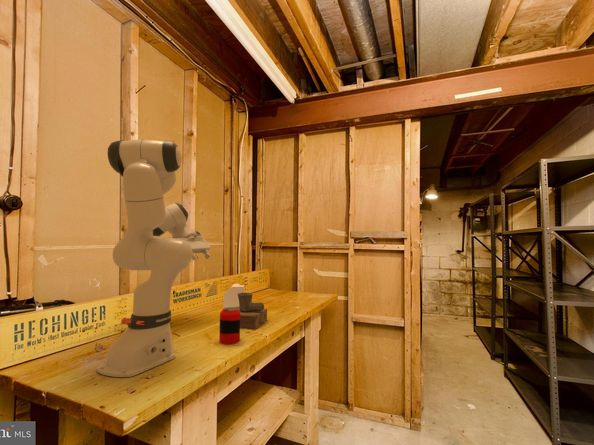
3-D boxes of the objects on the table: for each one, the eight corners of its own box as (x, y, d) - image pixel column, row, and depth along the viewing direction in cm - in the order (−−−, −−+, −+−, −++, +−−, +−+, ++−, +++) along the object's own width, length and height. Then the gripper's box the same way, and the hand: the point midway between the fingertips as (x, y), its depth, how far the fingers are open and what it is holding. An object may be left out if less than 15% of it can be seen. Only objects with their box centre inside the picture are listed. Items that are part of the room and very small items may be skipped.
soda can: (215, 342, 109) (215, 309, 109) (229, 336, 115) (229, 305, 116) (230, 346, 105) (230, 312, 106) (243, 339, 112) (244, 308, 112)
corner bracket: (242, 308, 160) (243, 286, 160) (222, 308, 159) (222, 286, 160) (245, 304, 170) (245, 283, 171) (225, 304, 170) (226, 283, 170)
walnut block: (254, 330, 124) (254, 316, 124) (221, 327, 128) (221, 313, 128) (266, 321, 137) (267, 308, 138) (236, 319, 142) (236, 306, 142)
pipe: (260, 313, 129) (261, 295, 129) (234, 312, 131) (234, 294, 132) (265, 310, 134) (265, 293, 135) (239, 308, 137) (240, 291, 138)
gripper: (173, 232, 126) (192, 255, 122) (202, 232, 145) (219, 252, 142) (165, 242, 127) (183, 265, 124) (194, 241, 146) (211, 261, 143)
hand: (202, 258), depth 133 cm, fingers open, 8 cm apart
